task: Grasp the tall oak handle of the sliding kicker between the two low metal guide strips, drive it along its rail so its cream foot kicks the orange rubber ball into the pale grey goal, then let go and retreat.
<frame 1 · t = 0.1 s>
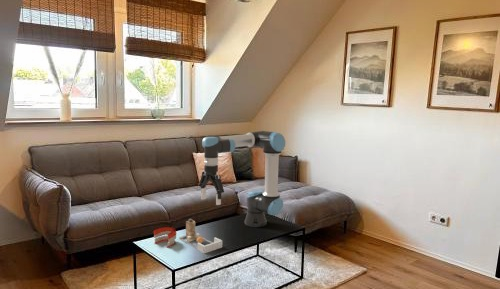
hand: (210, 201, 206), 28 cm above the table, fingers open, 13 cm apart
ball: (199, 240, 217), point 2 cm above the table
goal: (209, 248, 211), on the table
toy: (167, 243, 217), on the table
kicker: (191, 229, 223), point 6 cm above the table, slide at 0.0 cm
rails: (196, 241, 220), on the table
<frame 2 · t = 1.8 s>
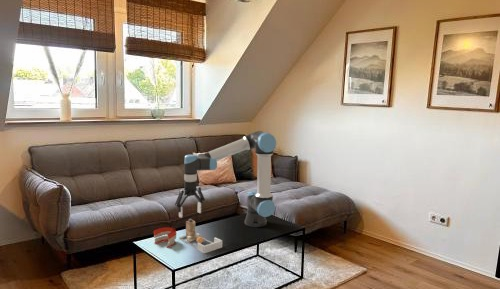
hand: (190, 214, 222), 15 cm above the table, fingers open, 13 cm apart
nothing on the table moved.
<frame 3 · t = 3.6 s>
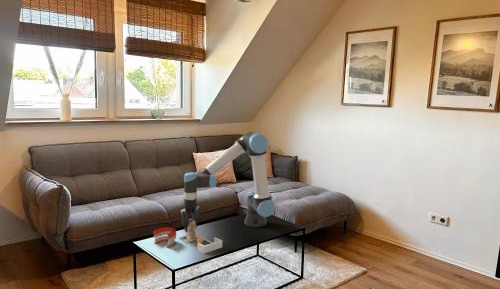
hand: (190, 235, 224), 2 cm above the table, fingers closed on kicker, 4 cm apart
kicker: (191, 229, 223), point 6 cm above the table, slide at 0.0 cm, touching gripper
everything else where it was.
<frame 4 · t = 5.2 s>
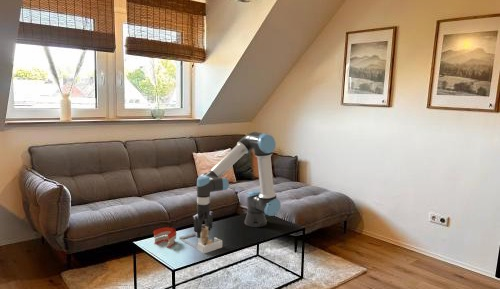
hand: (203, 241, 215), 2 cm above the table, fingers closed on kicker, 4 cm apart
ball: (209, 245, 210), point 2 cm above the table, tilted 94°
kicker: (204, 235, 214), point 6 cm above the table, slide at 12.8 cm, touching gripper
everything else where it was.
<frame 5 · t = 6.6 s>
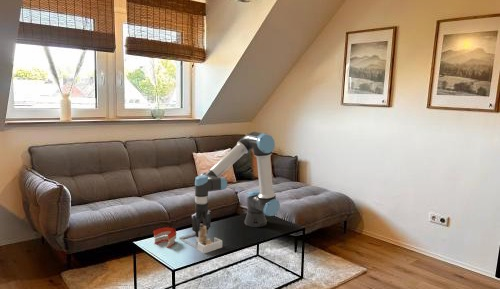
hand: (201, 240, 216), 2 cm above the table, fingers closed on kicker, 4 cm apart
ball: (209, 244, 211), point 2 cm above the table, tilted 106°
kicker: (202, 234, 215), point 6 cm above the table, slide at 11.1 cm, touching gripper
everything else where it was.
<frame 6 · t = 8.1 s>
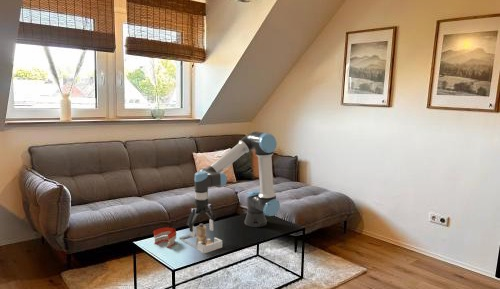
hand: (202, 233, 216), 7 cm above the table, fingers open, 13 cm apart
ball: (209, 245, 210), point 2 cm above the table, tilted 101°
kicker: (202, 234, 215), point 6 cm above the table, slide at 11.0 cm
everything else where it was.
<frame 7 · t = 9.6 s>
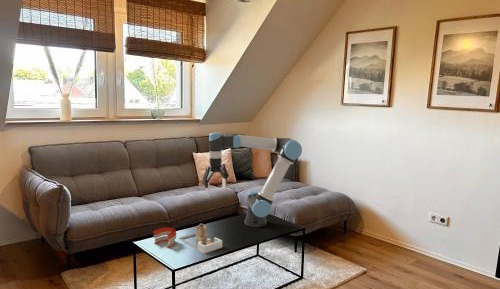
hand: (216, 190, 231), 28 cm above the table, fingers open, 13 cm apart
ball: (209, 245, 210), point 2 cm above the table, tilted 95°
everything else where it was.
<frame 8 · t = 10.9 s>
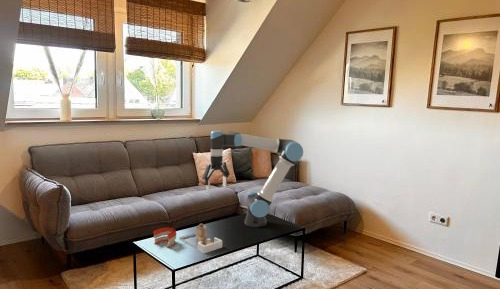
hand: (216, 188, 233), 29 cm above the table, fingers open, 13 cm apart
nothing on the table moved.
at the end: ball inside the target area on the goal (0.5 cm from its centre), point 2.0 cm above the goal's base; kicker slide at 11.0 cm; the gripper is holding nothing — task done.
